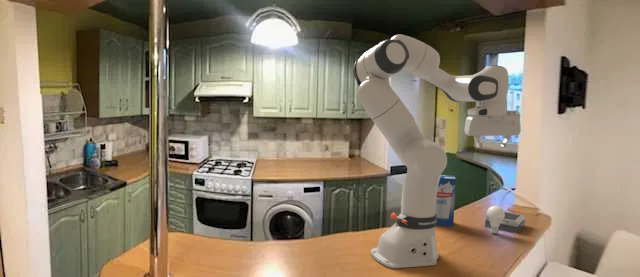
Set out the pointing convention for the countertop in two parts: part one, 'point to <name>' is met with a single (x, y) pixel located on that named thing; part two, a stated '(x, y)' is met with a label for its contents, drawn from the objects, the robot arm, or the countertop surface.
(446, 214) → the milk carton
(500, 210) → the lightbulb
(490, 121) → the robot arm
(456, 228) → the countertop surface
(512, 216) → the socket
